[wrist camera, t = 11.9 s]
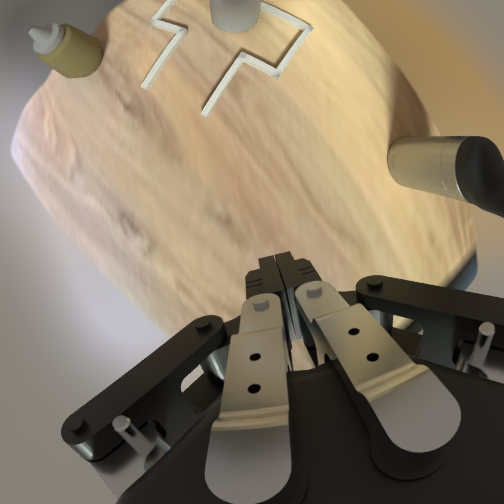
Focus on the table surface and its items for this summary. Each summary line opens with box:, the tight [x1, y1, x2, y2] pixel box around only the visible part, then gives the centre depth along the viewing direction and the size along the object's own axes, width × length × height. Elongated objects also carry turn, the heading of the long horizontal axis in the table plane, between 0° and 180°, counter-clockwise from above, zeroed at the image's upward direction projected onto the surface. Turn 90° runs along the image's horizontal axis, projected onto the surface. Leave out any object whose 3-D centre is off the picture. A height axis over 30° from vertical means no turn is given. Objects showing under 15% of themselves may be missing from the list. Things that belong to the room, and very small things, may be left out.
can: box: [210, 0, 262, 33], centre depth 27 cm, size 8×8×12 cm
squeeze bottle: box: [28, 23, 102, 78], centre depth 24 cm, size 8×8×18 cm
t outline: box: [141, 0, 313, 118], centre depth 33 cm, size 23×24×2 cm
